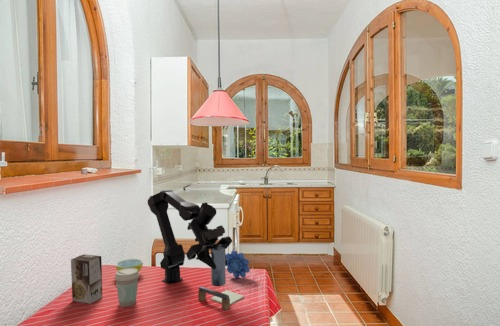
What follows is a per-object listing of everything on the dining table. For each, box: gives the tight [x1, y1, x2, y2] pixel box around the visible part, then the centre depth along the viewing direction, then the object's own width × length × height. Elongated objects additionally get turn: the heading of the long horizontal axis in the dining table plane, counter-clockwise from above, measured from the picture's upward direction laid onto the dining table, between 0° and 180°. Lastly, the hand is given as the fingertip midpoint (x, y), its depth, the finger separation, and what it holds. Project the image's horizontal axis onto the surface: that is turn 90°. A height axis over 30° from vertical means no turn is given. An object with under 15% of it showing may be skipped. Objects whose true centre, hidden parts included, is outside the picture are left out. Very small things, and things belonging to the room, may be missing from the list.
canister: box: [210, 247, 227, 287], centre depth 121 cm, size 5×5×13 cm
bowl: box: [115, 258, 144, 273], centre depth 148 cm, size 11×12×6 cm
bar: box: [198, 285, 229, 300], centre depth 120 cm, size 14×1×1 cm, turn 52°
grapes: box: [225, 250, 251, 278], centre depth 144 cm, size 12×7×12 cm, turn 79°
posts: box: [197, 289, 231, 311], centre depth 120 cm, size 14×2×4 cm, turn 52°
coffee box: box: [70, 254, 103, 304], centre depth 125 cm, size 9×6×16 cm
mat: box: [210, 289, 245, 306], centre depth 124 cm, size 9×9×1 cm
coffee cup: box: [114, 268, 140, 308], centre depth 121 cm, size 8×8×12 cm
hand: (220, 266), depth 120 cm, fingers closed on canister, 5 cm apart
